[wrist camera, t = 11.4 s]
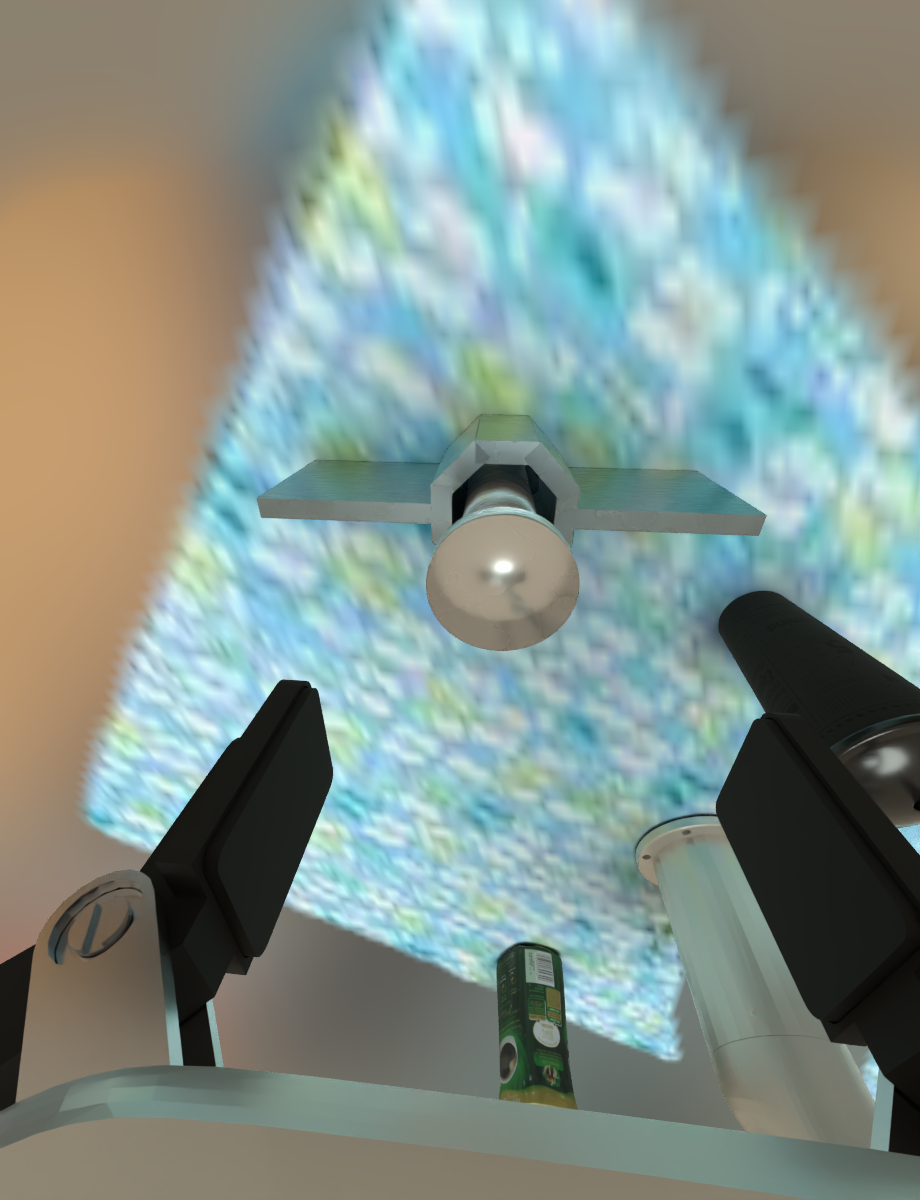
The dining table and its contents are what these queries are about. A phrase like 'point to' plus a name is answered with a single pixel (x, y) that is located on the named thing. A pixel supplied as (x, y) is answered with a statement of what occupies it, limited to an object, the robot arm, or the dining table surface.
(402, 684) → the dining table surface
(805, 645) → the drinking cup
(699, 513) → the hinge
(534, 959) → the coffee jar
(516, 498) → the hinge pin
